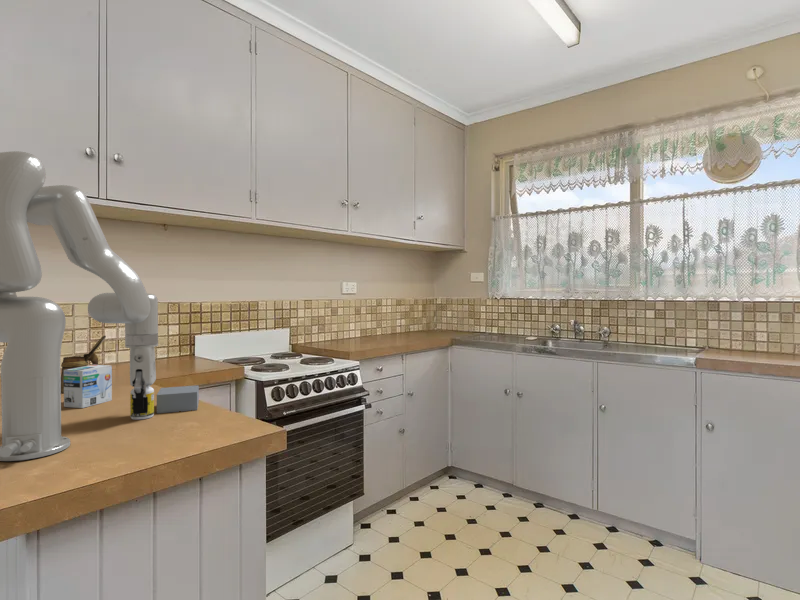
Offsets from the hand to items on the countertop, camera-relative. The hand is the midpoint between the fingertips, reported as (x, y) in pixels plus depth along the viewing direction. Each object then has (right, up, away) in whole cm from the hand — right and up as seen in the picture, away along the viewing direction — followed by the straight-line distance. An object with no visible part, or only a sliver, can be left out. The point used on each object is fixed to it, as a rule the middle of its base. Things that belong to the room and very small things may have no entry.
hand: (142, 409), depth 120 cm
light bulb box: (-24, -2, +15) cm, 29 cm away
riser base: (+4, -2, +10) cm, 12 cm away
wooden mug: (-40, -2, +35) cm, 53 cm away
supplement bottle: (0, -2, 0) cm, 2 cm away
